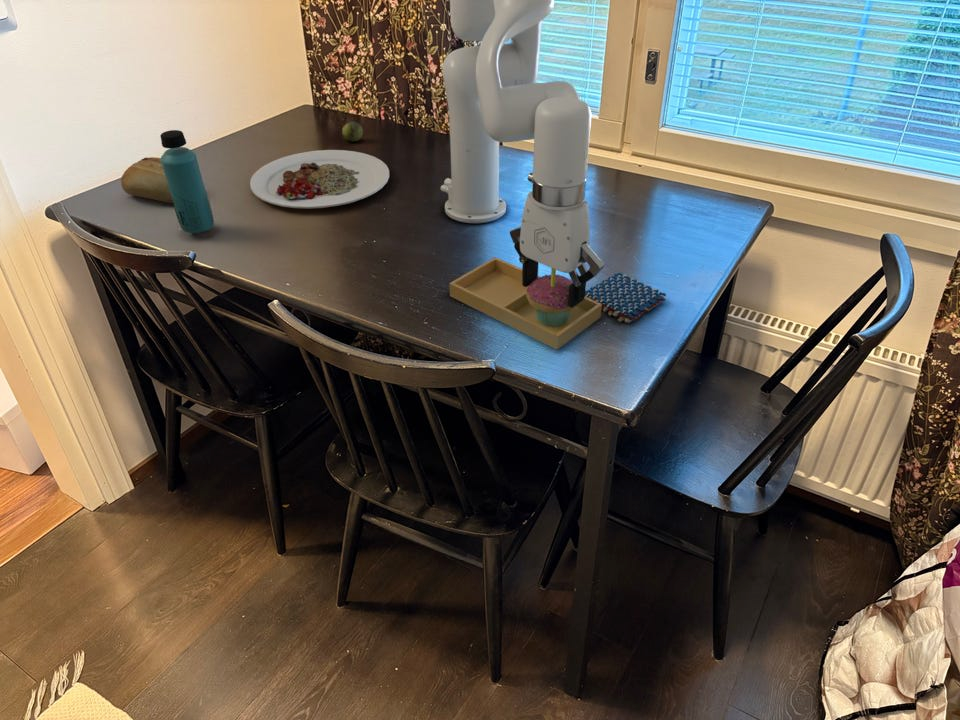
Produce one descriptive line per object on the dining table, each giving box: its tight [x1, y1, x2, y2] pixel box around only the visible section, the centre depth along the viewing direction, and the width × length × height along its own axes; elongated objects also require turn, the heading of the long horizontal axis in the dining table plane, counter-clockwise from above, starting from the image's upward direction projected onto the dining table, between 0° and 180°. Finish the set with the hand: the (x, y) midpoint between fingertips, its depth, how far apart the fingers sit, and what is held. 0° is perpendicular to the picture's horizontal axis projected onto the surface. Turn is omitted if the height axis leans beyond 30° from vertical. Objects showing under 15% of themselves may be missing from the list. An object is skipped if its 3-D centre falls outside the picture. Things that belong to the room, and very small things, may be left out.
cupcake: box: [526, 267, 578, 326], centre depth 112 cm, size 9×8×12 cm
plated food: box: [249, 149, 390, 209], centre depth 156 cm, size 30×30×3 cm
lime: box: [341, 121, 364, 143], centre depth 176 cm, size 4×5×5 cm
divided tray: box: [449, 256, 603, 351], centre depth 118 cm, size 23×12×3 cm, turn 48°
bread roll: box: [120, 157, 174, 204], centre depth 150 cm, size 10×15×8 cm, turn 75°
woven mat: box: [585, 272, 667, 323], centre depth 119 cm, size 10×11×2 cm
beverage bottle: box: [160, 129, 215, 234], centre depth 134 cm, size 6×7×20 cm
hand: (552, 293), depth 112 cm, fingers closed on cupcake, 8 cm apart
